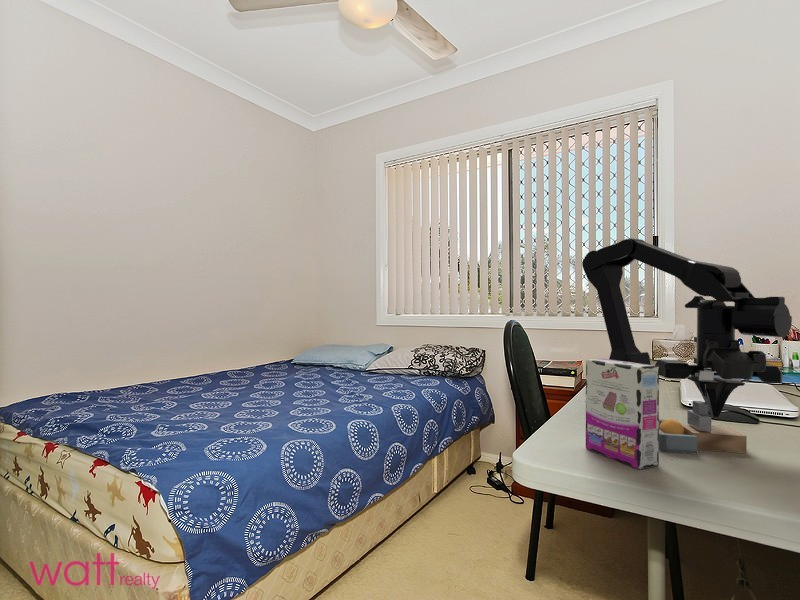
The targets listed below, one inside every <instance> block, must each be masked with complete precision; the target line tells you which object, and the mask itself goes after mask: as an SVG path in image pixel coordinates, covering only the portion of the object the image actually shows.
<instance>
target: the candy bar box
mask: <svg viewBox="0 0 800 600" xmlns="http://www.w3.org/2000/svg"><path fill="white" fill-rule="evenodd" d="M659 399H660V375H659V366H655V365H652V364H651V365H646V364H640V363H632V362H624V361H617V360H610V359H609V358H592V359H591V358H590V359H586V360H585V449H586V450H589V451H591V452H594V453H596V454H599V455H602V456H603V457H606V458H608V459H611V460H614V461H615V462H618V463H620V464H621V463H622V464H623V465H624V464H625V465H627V466H629V467H632V468H635V469H637V470H642V469H648V468H654V467H657V466H659V462H660V459H659V458H660V455H659V452H660V451H659V417H660V416H659V415H660V411H659V410H660V406H659V405H660V404H659V403H660V400H659Z"/></svg>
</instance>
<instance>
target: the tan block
mask: <svg viewBox="0 0 800 600" xmlns="http://www.w3.org/2000/svg"><path fill="white" fill-rule="evenodd" d="M680 424H681V425H682V426H683V428H684V435H695V436H697V451H698V450H699V451H709V452H710V451H711V452H712V451H714V452H722V453H723V452H725V453H726V452H727V453H740V454H741V453H742V454H747V452H748V451H747V448H748V447H747V442H748V441H747V437H748V436H747V435H746V434H743V433H741V432H740V431H738V430H736V429H734V428H732V427H730V426H726V425H725V426H723V425H711V431H699V430H697V429H695V428H694V427H692V426H691V425H689V424H688V423H680Z"/></svg>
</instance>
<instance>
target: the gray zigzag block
mask: <svg viewBox="0 0 800 600" xmlns="http://www.w3.org/2000/svg"><path fill="white" fill-rule="evenodd" d="M686 413H687V420H686V421H687V423H686V424H689V425H691V426H692V427H694V428H695V429H697V430H699V431H711V426H712V416H711V415H709V410H708V404H707V403H705V401H704V400H692V409H687V412H686Z"/></svg>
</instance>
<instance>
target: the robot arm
mask: <svg viewBox="0 0 800 600" xmlns="http://www.w3.org/2000/svg"><path fill="white" fill-rule="evenodd" d="M635 260H636V261H638V262H639V263H640V262H641V263H643V264H645V265H647V266H650V267H652V268H655V269H657V270H659V271H662V272H664V273H667V274H668V275H671V276H673V277H675V278H677V279H678V280H679V281H680V282H681V283H682V284H683V285H684V286H685V287H687V288H688V289H690V290H692V291H693V292H694V293H696V294H698V295H695V296H693V298H692V299H691V300H690V301H688V302H687V303H685V304H684V307H685V308H686V309H696V318H697V319H696V336H694V337H693V343H696V357H694V358H693V364H689V363H687V362H684V361H682V360H678V359H658V360H656V362H655V365H654V366H659V377H660V376H661V377H662V378H666V379H675V380H676V379H679V380H681V379H682V380H686V379H687V380H688V381H689V380H690V381H691V382H694V383H693V384H695V386H696V388H697V389H698V391H699V393H700V394H701V396H702V399H703V402H705V403H707V404H708V413H709V414H710V417H711V418H719V417H720V416H721V413H722V411H723V409H724V406H725V405H726V402H727V400H728V398H729V396H730V395H731V394H732V392H733V391H734V390H736V389H737V388H738V387H742V386H743V387H744V386H745V385H746V383H745V382H743V381H751V380H752V378H757V379H759V380H760V382H762V383H776V384H778V383H780V384H781V383H783V372H782V370H781V369H780V368H779V366H777V365H773V364H769V363H767V354H766V353H765V352H764V351H763V350H749V351H748V352H747V351H742V350H741V347H740V346H741V344H740V340H739V339H736V334H735V333H736V330H738V332H739V334H741V335H743V336H755V337H756V336H758V337H769V338H771V337H772V338H786V337H788V335H789V333H790V331H791V328H792V321H793V318H792V315H791V313H790V310H789V307H788V306H787V305H786V303H785V301H786V300H785V299H786V298H785V296H765V297H755V296H754V295H753V293H752V292H751V291H750V290H749V289H748V288H747V287H746V286H745V285H744V283H743V282H742V278H741V274H740V272H739V271H738V269H736V268H734V267H732V266H727V265H721V264H715V263H712V262H711V263H710V262H705V261H704V262H703V261H698V260H694V259H690V258H688V257H685V256H683V255H679V254H677V253H675V252H672V251H669V250H666V249H664V248H661V247H659V246H657V245H654V244H651V243H648V242H646V241H644V239H640V238H630V237H628V238H625V239H623V240H621V241H618V242H617V243H614V244H613V243H612V244H611V245H607V246H605V247H602V248H599V249H597V250H591V251H588V253H586V255H585V256H584V258H583V259H582V261H581V263H582V265H581V266H582V269H583V271H584V273H585V276H586V278H587V280H588V281H589V283H590V284H591V285H592V286H593V287H594V289H595V290H596V292H597V296H598V300H599V303H600V308H601V312H602V316H603V320H604V324H605V328H606V332H607V337H608V339H609V340H608V341H609V343H610V350H611V351H610V355H609V357H608V359H610V360H617V361H624V362H632V363H640V364H646V365H652V363H651V357H650V354H649V352H647V351H646V352H645V351H644V352H643V351H642V352H641V350H640V349H639V348H638V347H637V345H636V343H635V340H634V335H633V332H632V331H633V330H632V326H631V325H630V319H629V317H628V316H629V315H628V312H627V309H626V304H625V301H624V297H623V294H622V289H621V281H622V277H623V276H624V275H623V273H624V271H623V269H624V267H627V266H628V265H630V264H631V263H633V262H634V261H635ZM705 297H711V298H712V299H705ZM726 302H727V303H730V302H731V303H734V305H726ZM742 380H743V381H742Z"/></svg>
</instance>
